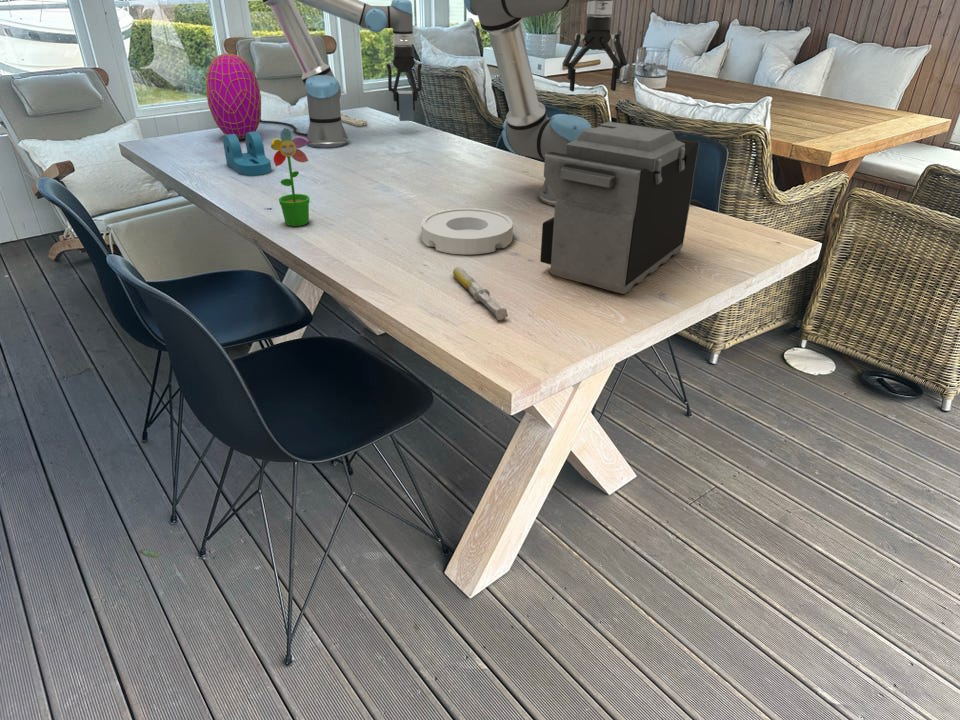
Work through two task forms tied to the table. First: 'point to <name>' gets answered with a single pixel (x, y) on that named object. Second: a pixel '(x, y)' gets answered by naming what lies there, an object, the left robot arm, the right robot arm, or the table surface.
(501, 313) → the syringe
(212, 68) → the decorative egg
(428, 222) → the ashtray
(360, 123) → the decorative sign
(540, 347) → the table surface
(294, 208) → the potted flower
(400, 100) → the block
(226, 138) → the camera mount
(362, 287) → the table surface
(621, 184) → the electronic device
